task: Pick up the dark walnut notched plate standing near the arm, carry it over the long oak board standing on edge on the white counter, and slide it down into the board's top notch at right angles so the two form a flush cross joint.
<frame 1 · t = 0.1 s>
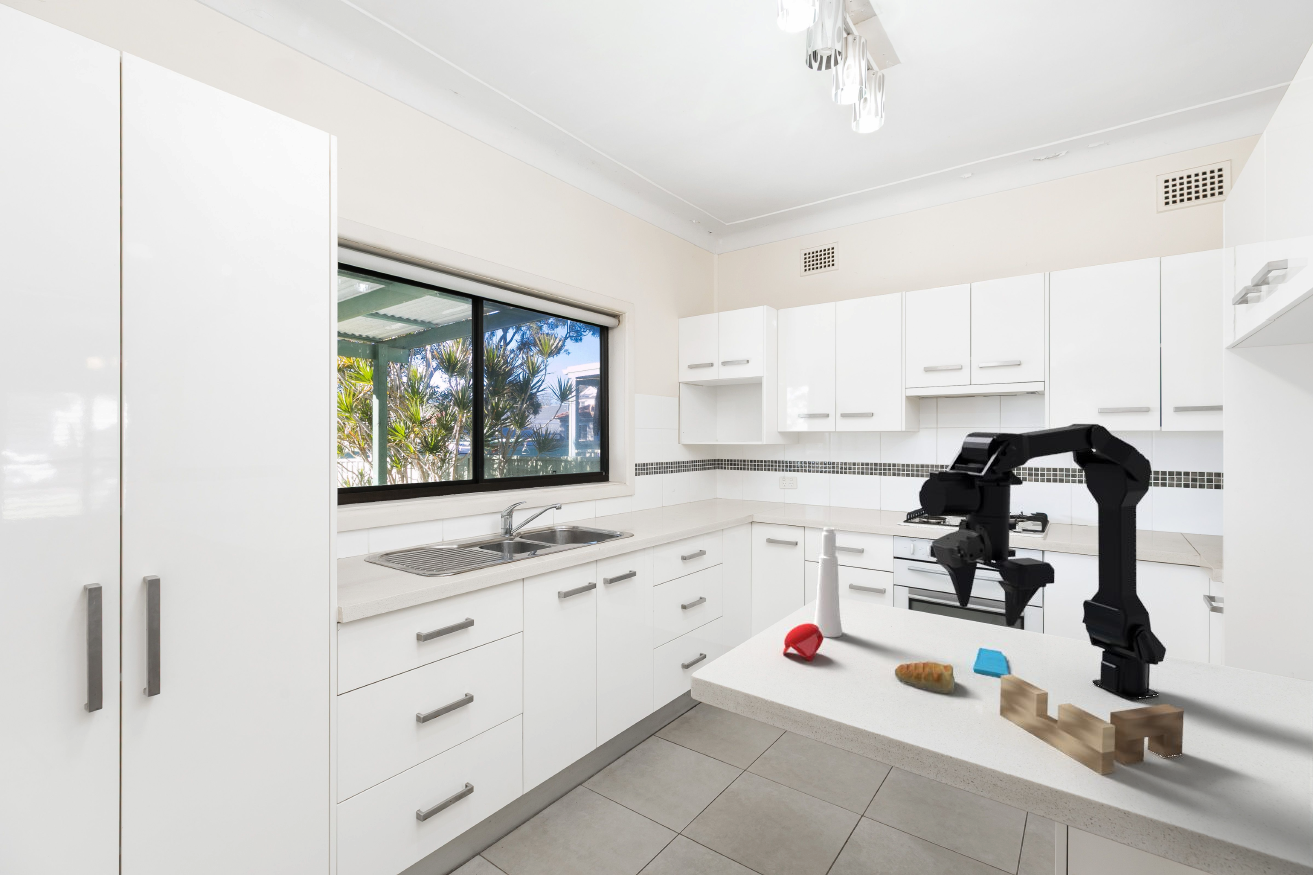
hand: (985, 615, 93), 15 cm above the countertop, tool pointing down, fingers open, 9 cm apart
cosmetic bottle: (827, 633, 127), on the countertop
red rounded piece: (802, 656, 114), on the countertop
sponge: (993, 667, 111), on the countertop
pastry: (928, 686, 103), on the countertop
oak slot board: (1051, 740, 84), on the countertop
walnut slot plate: (1145, 755, 81), on the countertop
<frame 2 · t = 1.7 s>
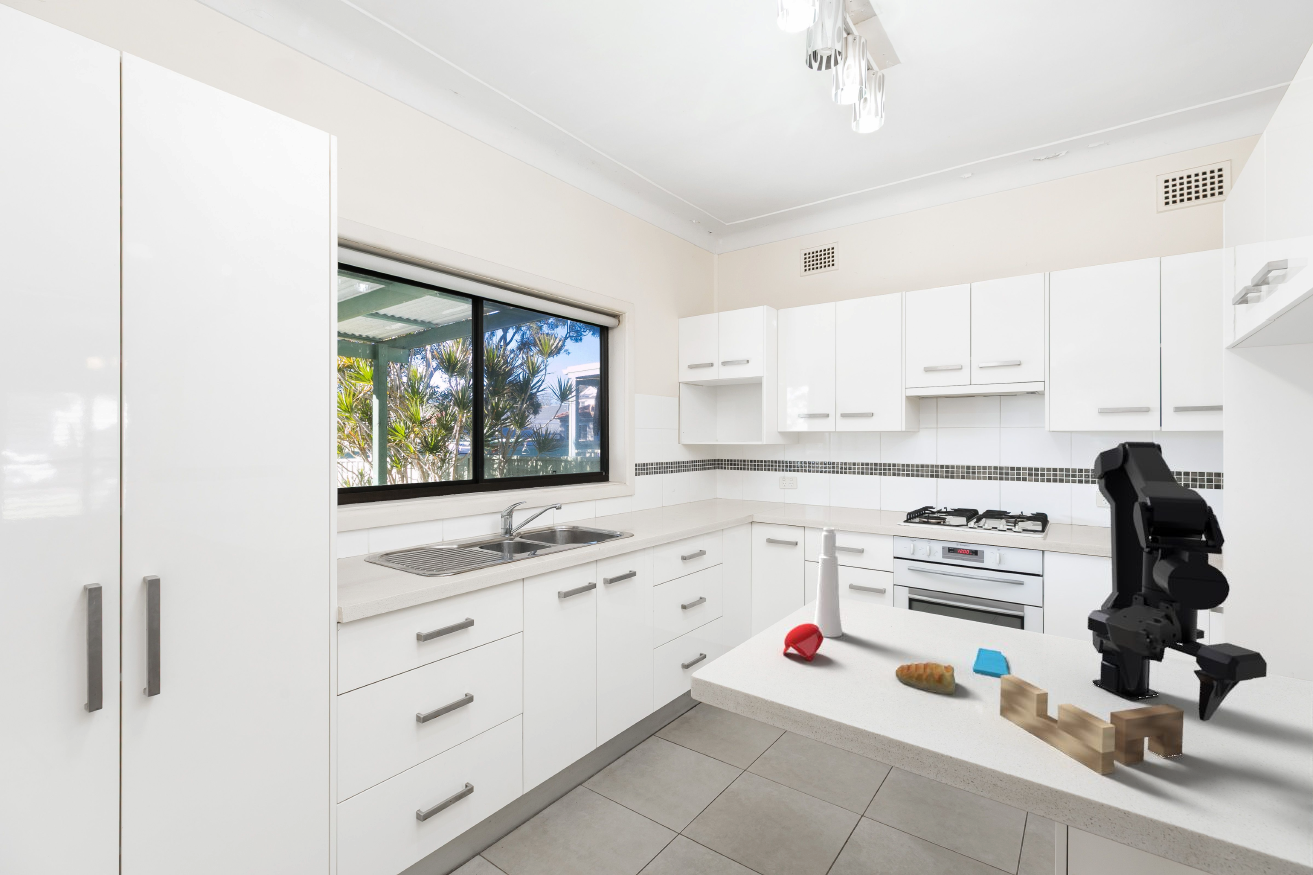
hand: (1165, 703, 81), 7 cm above the countertop, tool pointing down, fingers open, 9 cm apart
nothing on the countertop moved.
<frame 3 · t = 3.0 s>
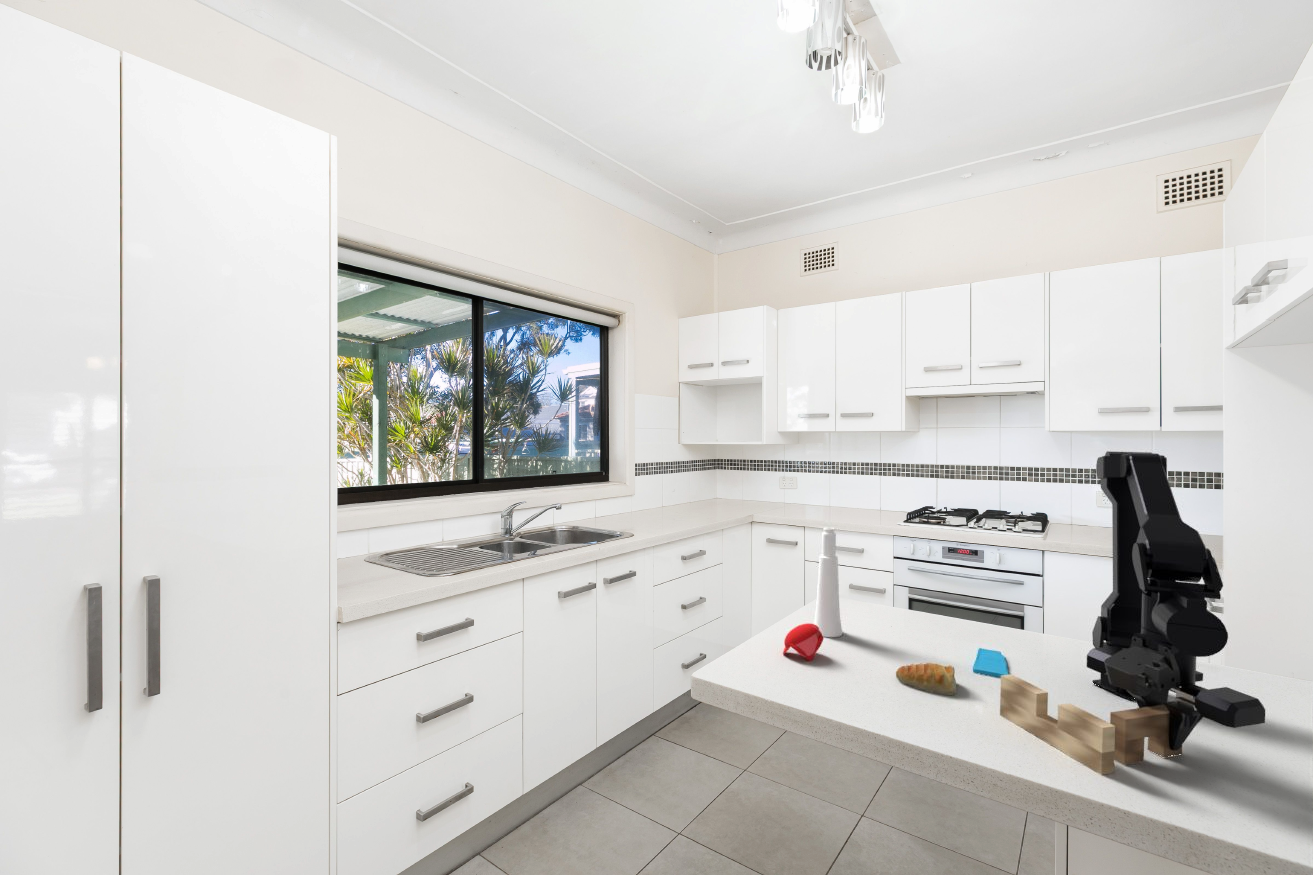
hand: (1164, 744, 82), 1 cm above the countertop, tool pointing down, fingers closed on walnut slot plate, 2 cm apart
walnut slot plate: (1145, 755, 81), on the countertop, touching gripper
everything else where it was.
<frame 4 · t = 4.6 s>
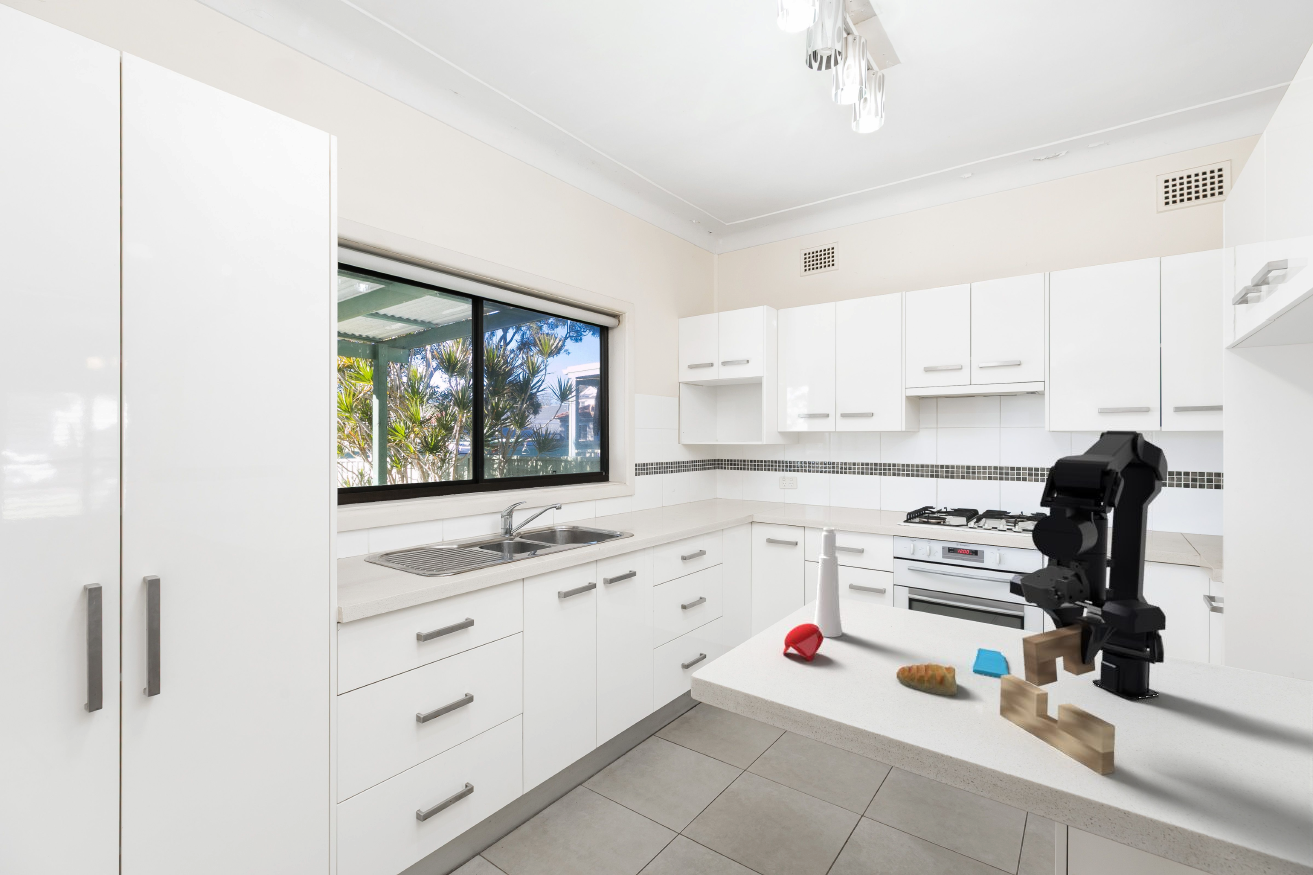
hand: (1078, 660, 84), 11 cm above the countertop, tool pointing down, fingers closed on walnut slot plate
walnut slot plate: (1060, 675, 84), point 9 cm above the countertop, tilted 7°, touching gripper
everything else where it was.
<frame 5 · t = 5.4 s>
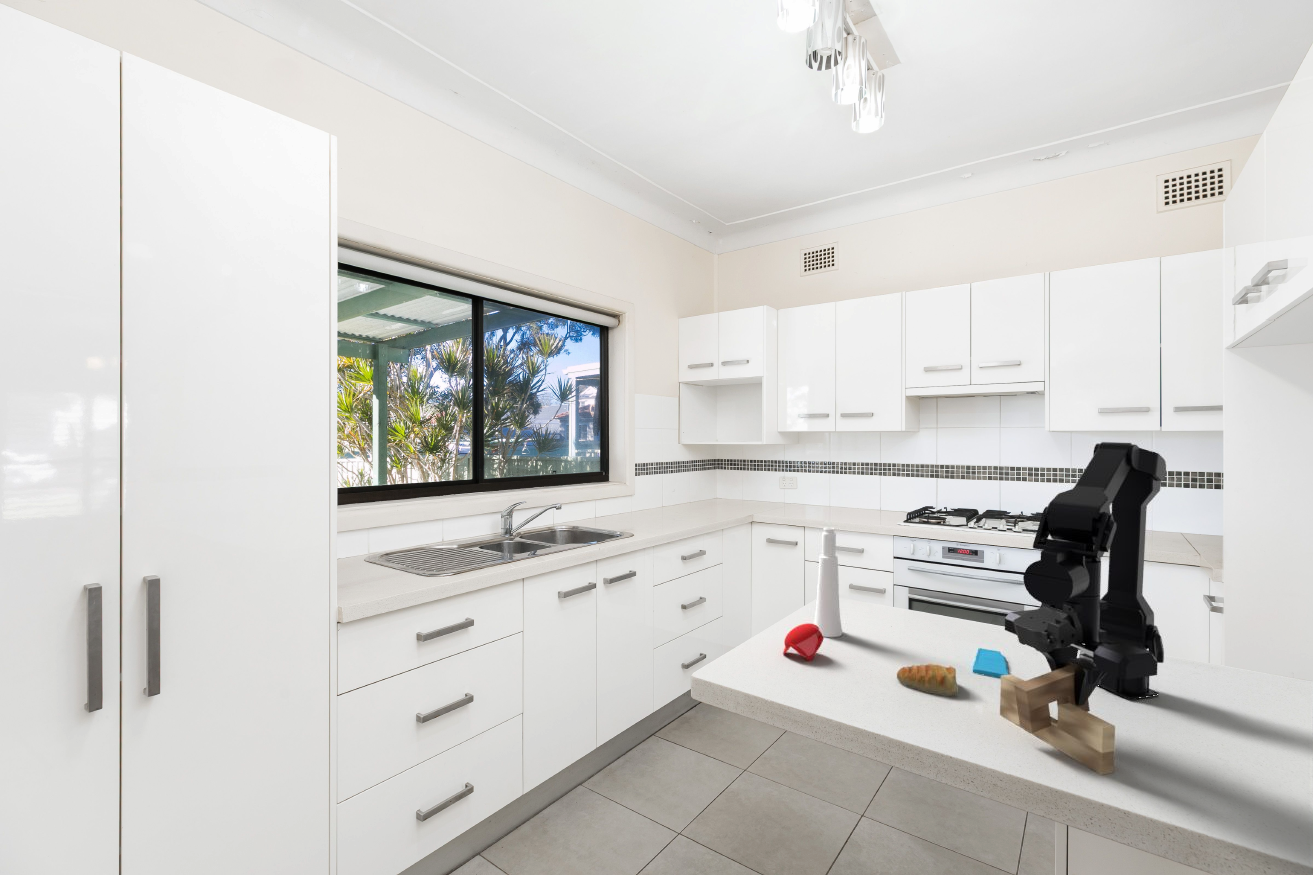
hand: (1072, 701, 85), 5 cm above the countertop, tool pointing down, fingers closed on walnut slot plate
walnut slot plate: (1054, 718, 84), point 3 cm above the countertop, tilted 11°, touching gripper
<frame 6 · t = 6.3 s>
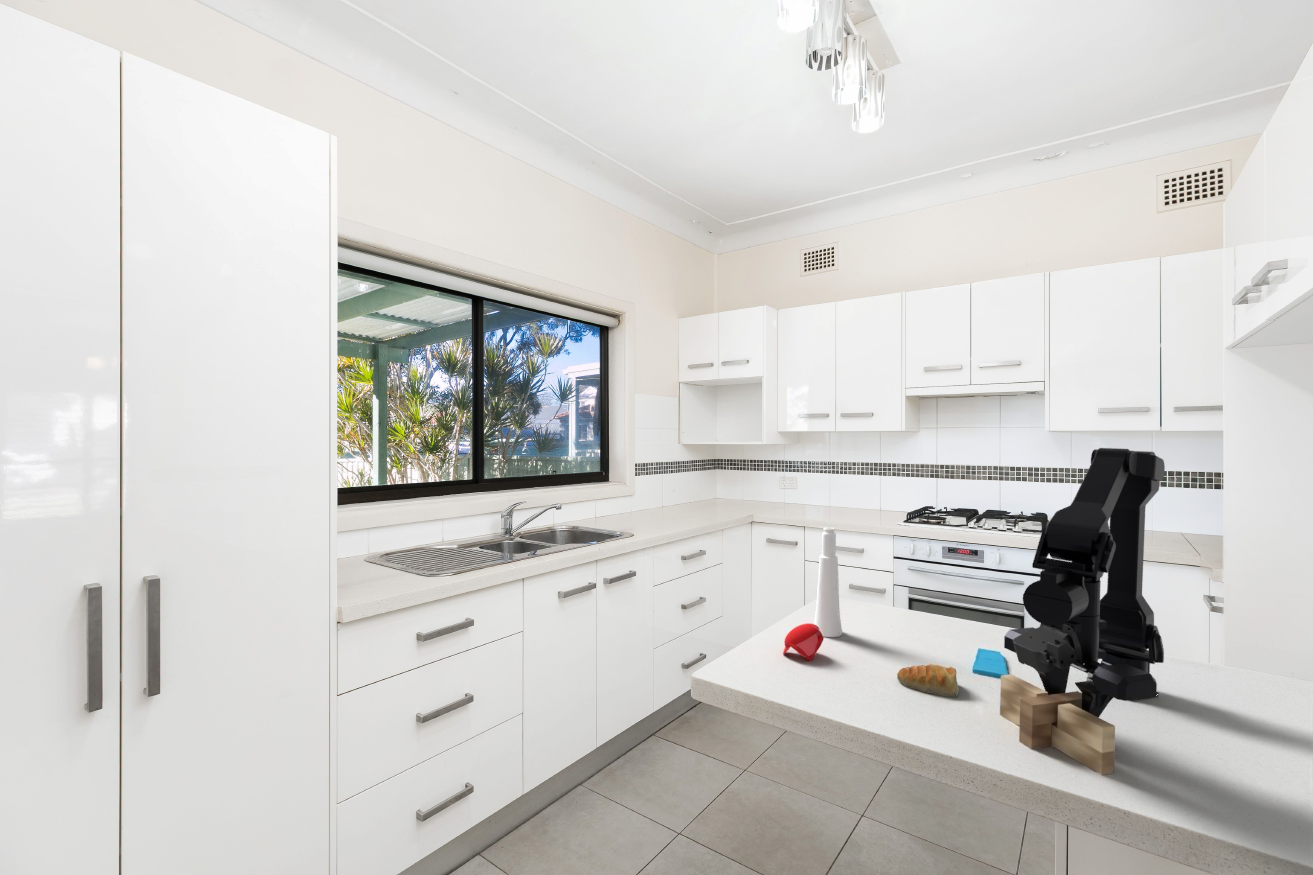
hand: (1071, 720, 85), 3 cm above the countertop, tool pointing down, fingers open, 4 cm apart
walnut slot plate: (1054, 740, 84), on the countertop
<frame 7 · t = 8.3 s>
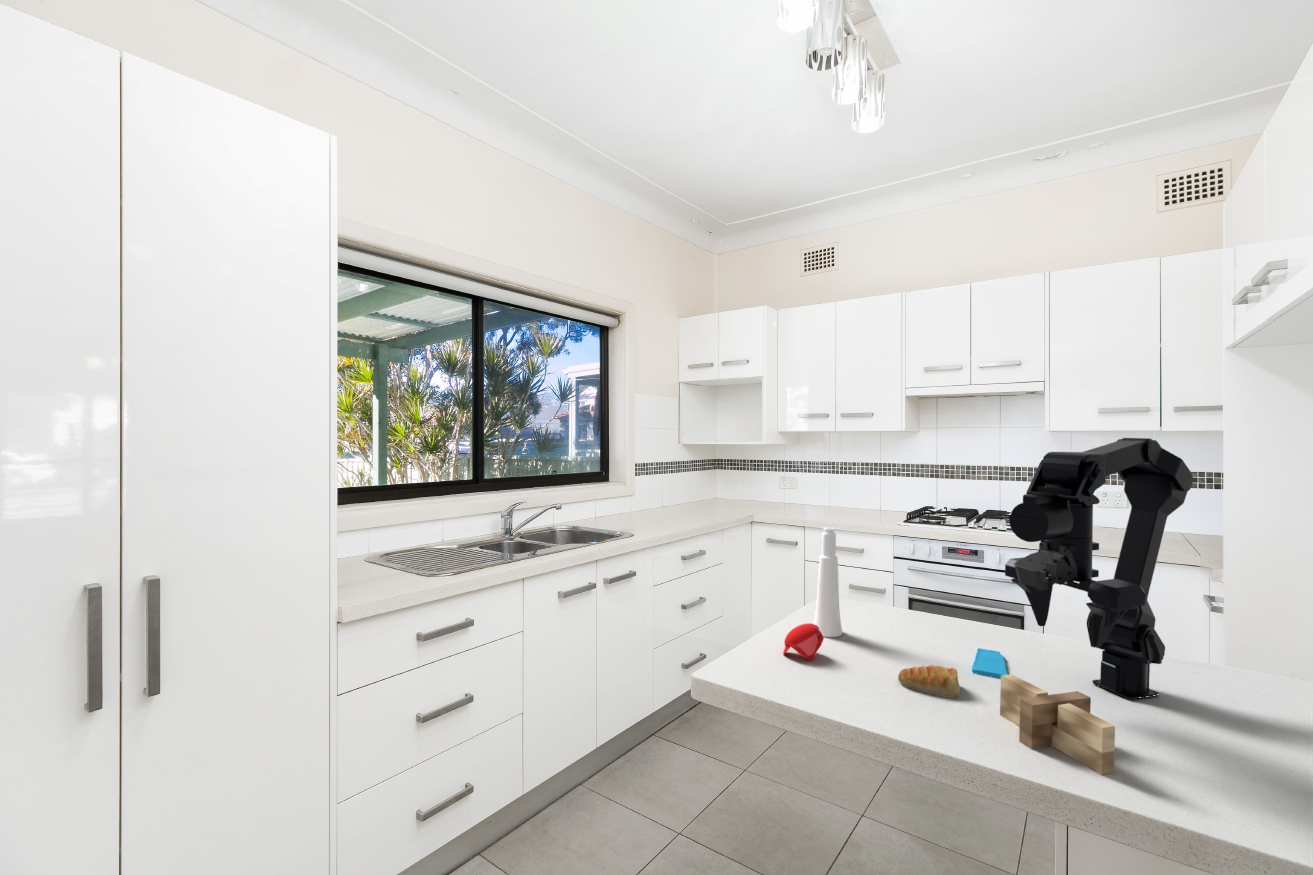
hand: (1068, 635, 93), 12 cm above the countertop, tool pointing down, fingers open, 9 cm apart
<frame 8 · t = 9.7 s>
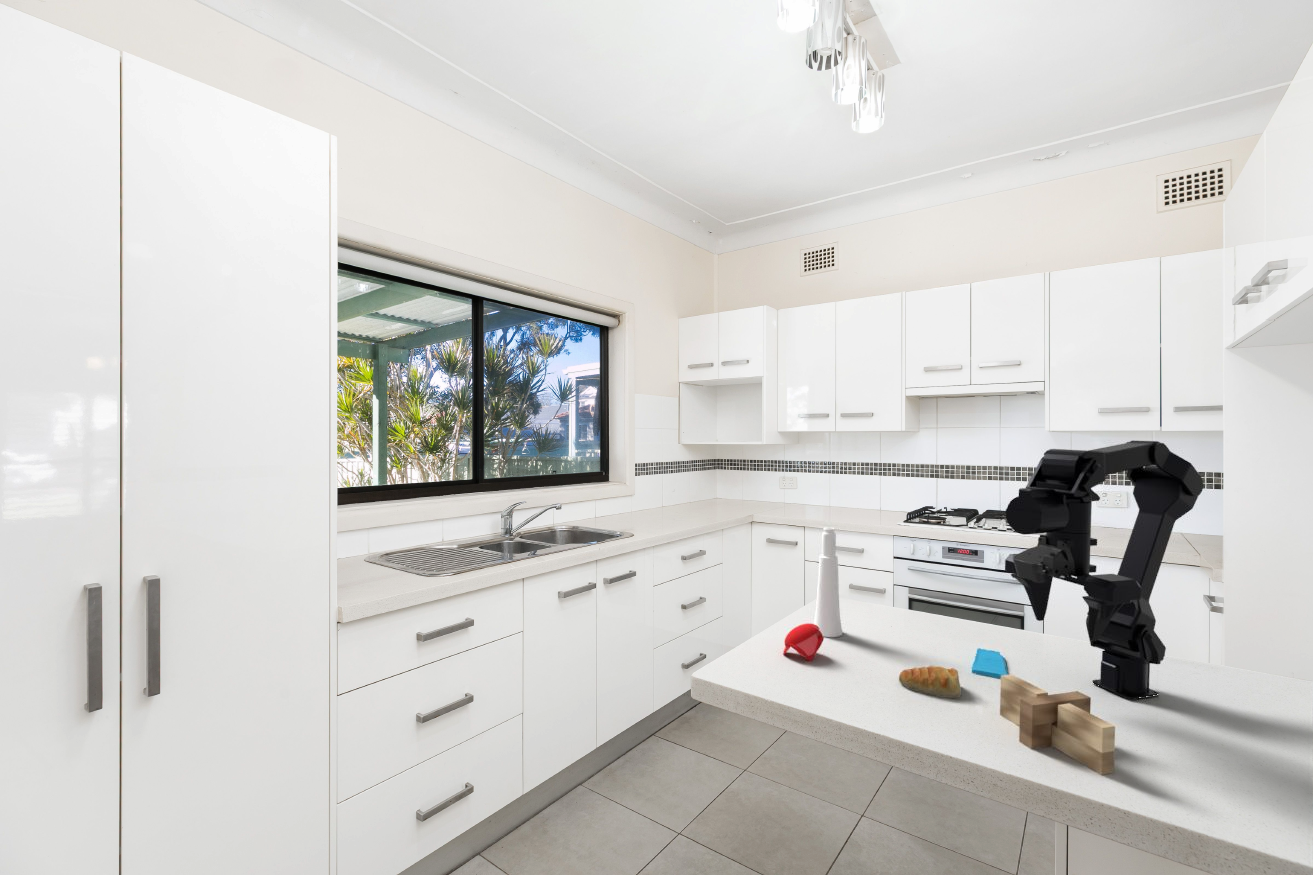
hand: (1065, 629, 94), 12 cm above the countertop, tool pointing down, fingers open, 9 cm apart
at the end: walnut slot plate 0.5 cm from the target spot, on the countertop; walnut slot plate tilted 0°; the gripper is holding nothing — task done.
